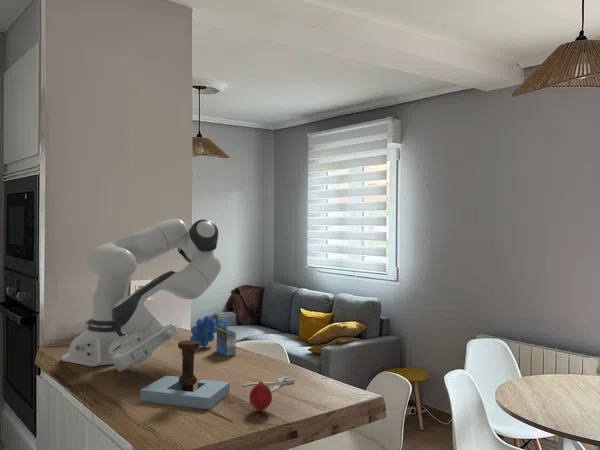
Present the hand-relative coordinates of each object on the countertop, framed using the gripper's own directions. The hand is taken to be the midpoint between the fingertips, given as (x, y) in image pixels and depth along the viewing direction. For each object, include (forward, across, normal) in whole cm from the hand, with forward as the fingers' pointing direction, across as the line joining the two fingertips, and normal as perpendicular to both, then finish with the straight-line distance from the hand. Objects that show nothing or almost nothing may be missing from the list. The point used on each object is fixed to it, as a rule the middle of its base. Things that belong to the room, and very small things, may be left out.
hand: (158, 343), depth 155 cm
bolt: (+7, +3, -16) cm, 18 cm away
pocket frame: (+7, +4, -16) cm, 17 cm away
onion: (+27, -3, -25) cm, 37 cm away
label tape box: (-25, -33, -21) cm, 47 cm away
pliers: (+13, -19, -28) cm, 36 cm away
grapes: (-38, -33, -17) cm, 53 cm away
